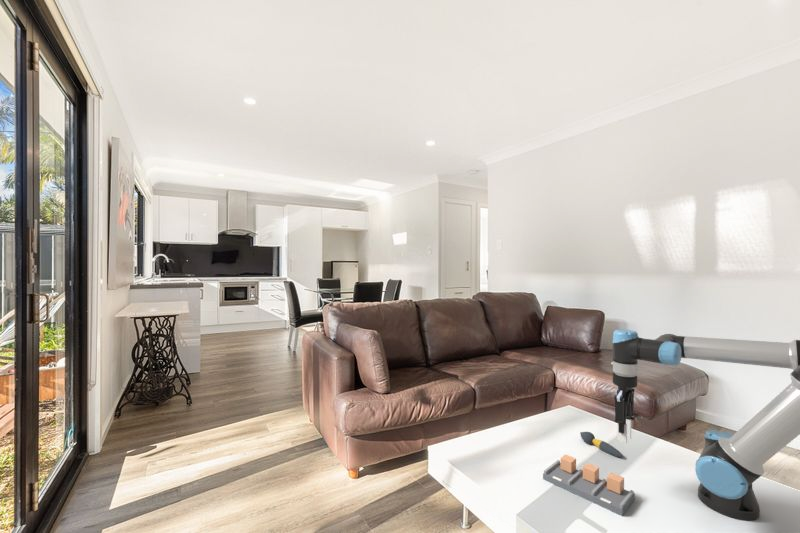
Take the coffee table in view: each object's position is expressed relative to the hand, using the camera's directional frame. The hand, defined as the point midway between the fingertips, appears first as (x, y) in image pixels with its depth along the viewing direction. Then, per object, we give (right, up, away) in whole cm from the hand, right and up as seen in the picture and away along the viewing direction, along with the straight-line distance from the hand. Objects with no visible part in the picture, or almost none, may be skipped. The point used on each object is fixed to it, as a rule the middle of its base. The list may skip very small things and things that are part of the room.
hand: (624, 439), depth 130 cm
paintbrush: (+6, -17, +27) cm, 32 cm away
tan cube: (-17, -14, +7) cm, 23 cm away
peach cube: (-12, -14, +1) cm, 18 cm away
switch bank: (-14, -17, -2) cm, 22 cm away
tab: (-6, -14, -5) cm, 17 cm away
